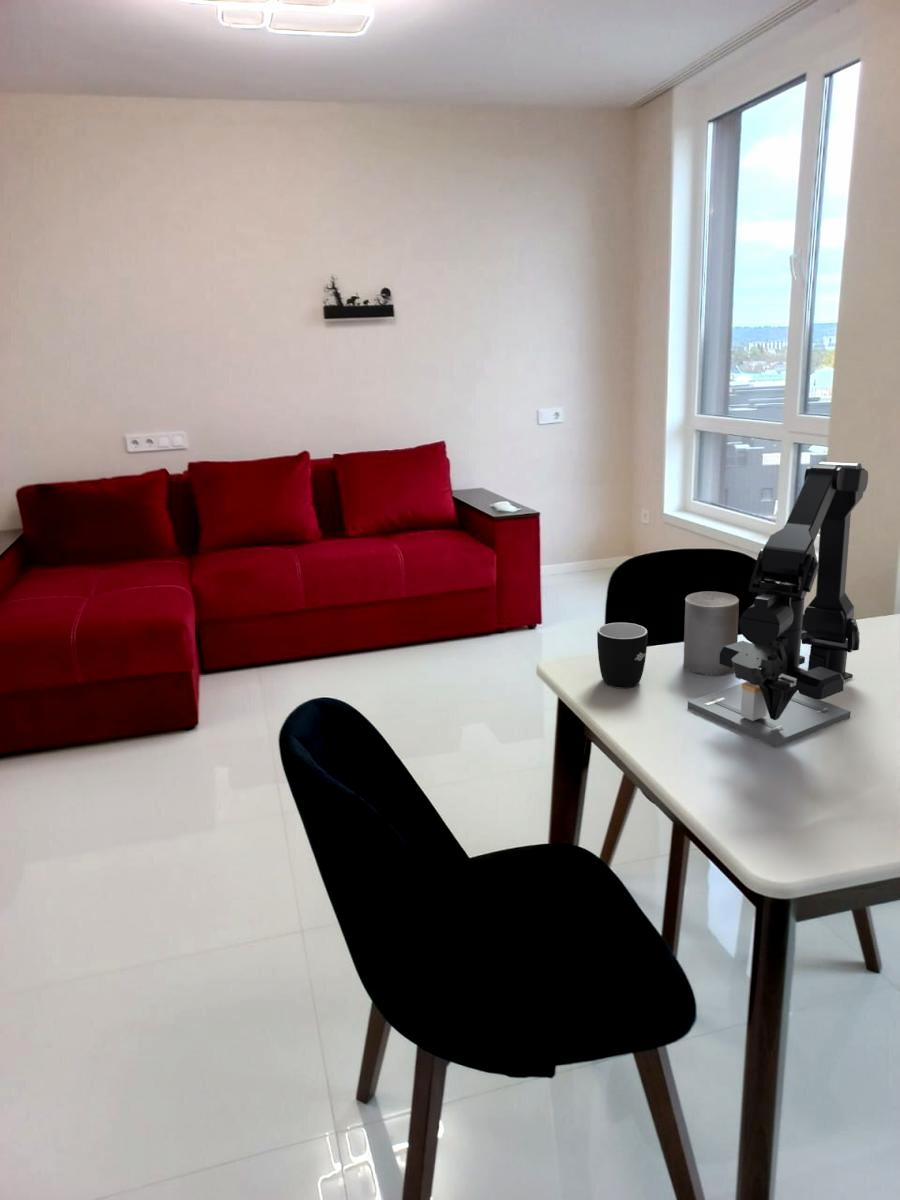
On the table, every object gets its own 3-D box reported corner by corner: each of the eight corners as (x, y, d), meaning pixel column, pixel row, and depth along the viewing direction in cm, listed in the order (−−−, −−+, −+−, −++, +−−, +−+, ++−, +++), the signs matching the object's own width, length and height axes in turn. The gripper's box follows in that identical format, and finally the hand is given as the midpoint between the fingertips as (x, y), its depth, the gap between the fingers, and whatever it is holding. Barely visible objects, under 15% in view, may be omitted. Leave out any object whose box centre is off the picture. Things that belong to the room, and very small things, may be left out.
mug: (638, 694, 145) (640, 641, 142) (590, 687, 149) (590, 635, 147) (655, 670, 155) (657, 620, 152) (610, 664, 160) (610, 615, 157)
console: (759, 683, 148) (759, 676, 147) (850, 718, 133) (851, 710, 132) (687, 707, 139) (688, 700, 139) (776, 748, 124) (776, 740, 124)
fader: (753, 710, 133) (756, 678, 132) (766, 716, 131) (769, 683, 130) (740, 715, 132) (742, 683, 130) (752, 721, 130) (754, 688, 128)
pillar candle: (721, 655, 162) (724, 582, 157) (745, 673, 152) (749, 596, 148) (674, 660, 160) (676, 587, 156) (695, 678, 151) (698, 601, 147)
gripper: (696, 620, 127) (692, 711, 132) (800, 654, 112) (791, 756, 116) (745, 606, 133) (740, 694, 137) (851, 637, 117) (840, 735, 122)
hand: (774, 718), depth 128 cm, fingers closed
